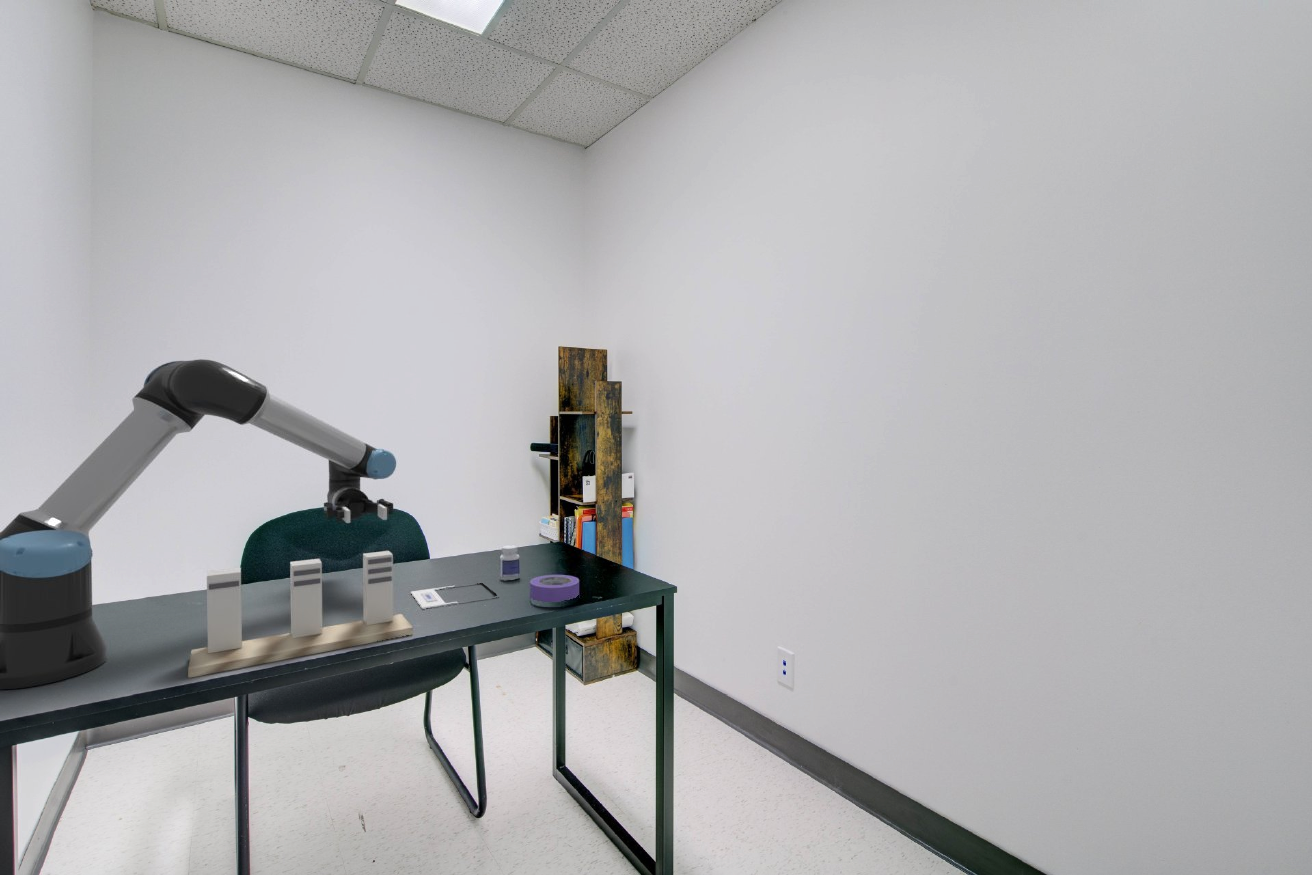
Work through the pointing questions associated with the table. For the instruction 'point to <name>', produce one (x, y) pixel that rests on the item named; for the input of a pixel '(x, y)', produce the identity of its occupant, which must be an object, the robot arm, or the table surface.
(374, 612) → the tile
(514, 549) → the pill bottle
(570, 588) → the tape roll
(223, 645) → the tile
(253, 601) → the table surface
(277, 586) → the table surface
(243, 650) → the key base
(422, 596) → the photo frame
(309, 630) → the white tall block
